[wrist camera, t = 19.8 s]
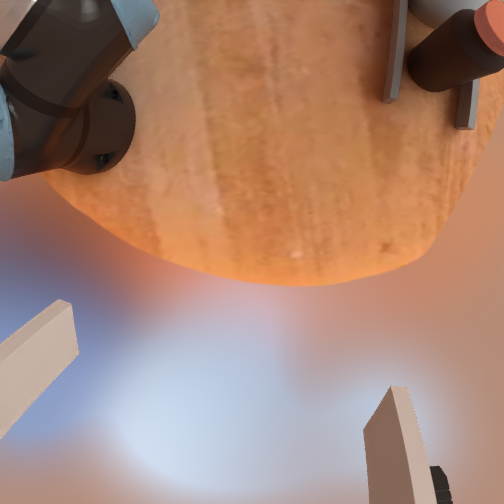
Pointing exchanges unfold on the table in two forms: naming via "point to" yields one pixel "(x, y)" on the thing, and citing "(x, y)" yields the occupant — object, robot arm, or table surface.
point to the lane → (394, 71)
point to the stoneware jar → (440, 9)
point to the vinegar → (460, 49)
